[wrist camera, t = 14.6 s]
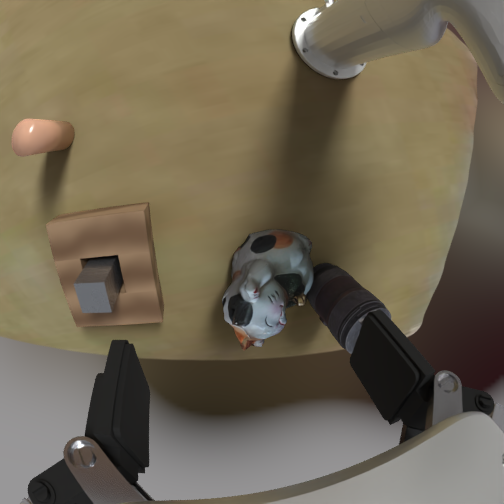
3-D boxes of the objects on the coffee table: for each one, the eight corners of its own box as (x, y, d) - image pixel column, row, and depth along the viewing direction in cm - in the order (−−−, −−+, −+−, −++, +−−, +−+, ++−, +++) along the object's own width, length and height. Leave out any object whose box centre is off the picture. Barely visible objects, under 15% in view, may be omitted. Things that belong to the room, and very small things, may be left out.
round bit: (51, 124, 26) (11, 123, 17) (74, 119, 27) (38, 115, 18) (51, 152, 27) (11, 159, 18) (74, 147, 28) (38, 152, 19)
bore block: (59, 214, 31) (45, 224, 27) (148, 202, 34) (143, 210, 30) (84, 310, 37) (76, 326, 33) (163, 304, 40) (162, 321, 36)
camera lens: (345, 287, 47) (393, 336, 34) (306, 307, 47) (346, 365, 34) (337, 250, 44) (392, 296, 30) (294, 271, 43) (339, 328, 30)
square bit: (96, 249, 34) (73, 283, 25) (121, 247, 35) (104, 282, 26) (101, 274, 36) (82, 312, 27) (125, 273, 37) (111, 312, 28)
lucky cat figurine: (307, 296, 46) (302, 369, 36) (238, 289, 48) (219, 358, 37) (320, 225, 36) (321, 306, 26) (233, 217, 38) (203, 293, 28)
